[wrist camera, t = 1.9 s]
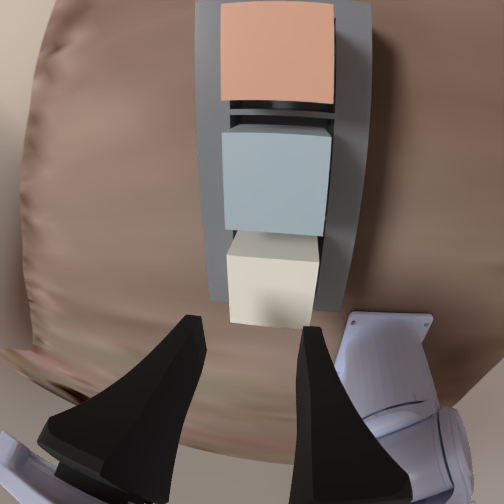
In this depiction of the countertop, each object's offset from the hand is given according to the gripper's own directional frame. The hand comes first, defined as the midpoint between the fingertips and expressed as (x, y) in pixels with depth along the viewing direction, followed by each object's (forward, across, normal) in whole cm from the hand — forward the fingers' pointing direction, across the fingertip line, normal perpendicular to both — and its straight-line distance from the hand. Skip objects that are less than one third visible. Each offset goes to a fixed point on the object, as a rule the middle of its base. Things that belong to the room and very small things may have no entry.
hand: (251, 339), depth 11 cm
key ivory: (+7, -1, +1) cm, 7 cm away
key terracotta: (+7, -1, -10) cm, 13 cm away
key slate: (+7, -1, -5) cm, 9 cm away
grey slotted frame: (+10, -1, -5) cm, 12 cm away
